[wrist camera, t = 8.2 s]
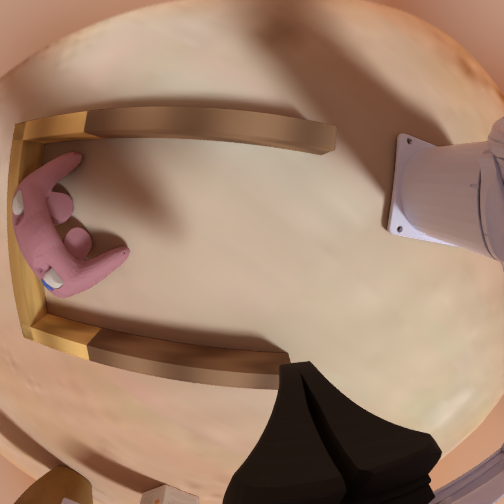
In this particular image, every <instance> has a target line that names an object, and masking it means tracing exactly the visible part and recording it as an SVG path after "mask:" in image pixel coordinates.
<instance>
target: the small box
mask: <svg viewBox="0 0 504 504" xmlns="http://www.w3.org/2000/svg"><path fill="white" fill-rule="evenodd" d="M140 504H199V497H197V496H195V495H192V494H189V493H186V492H184V491H181V490H179V489H177V488H174V487H172V486H169V485H167V484H165V485H162V486H160V487H157V488H154V489H152V490H149V491H146V492H143V493H142V498H141V502H140Z"/></svg>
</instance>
